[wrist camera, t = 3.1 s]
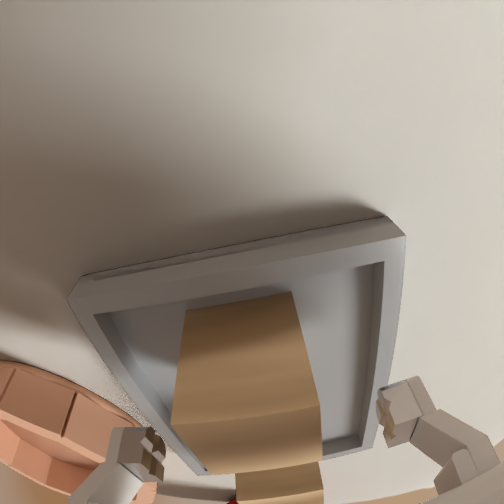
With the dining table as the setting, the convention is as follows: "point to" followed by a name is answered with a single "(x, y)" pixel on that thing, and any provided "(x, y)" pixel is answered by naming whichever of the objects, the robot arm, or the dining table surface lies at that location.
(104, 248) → the dining table surface
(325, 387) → the tray
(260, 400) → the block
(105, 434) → the bowl
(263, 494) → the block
